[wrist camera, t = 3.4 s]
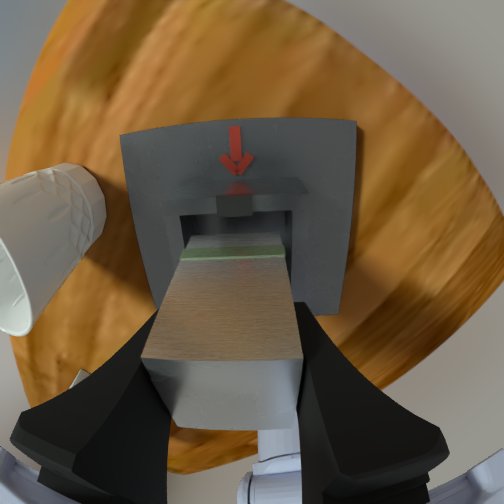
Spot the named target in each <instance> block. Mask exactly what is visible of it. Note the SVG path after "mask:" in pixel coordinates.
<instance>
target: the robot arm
mask: <svg viewBox="0 0 504 504" xmlns="http://www.w3.org/2000/svg"><path fill="white" fill-rule="evenodd" d="M293 303H294V308H295V314H296V319H297V325H298V330H299V336H300V342H301V347H302V353H303V365H302V372H301V379H300V386H299V392H298V399H297V405H296V411H295V417H294V422H293V428H290V429H273V430H258V463H253V472H248V473H246V474H245V476H244V477H243V478H242V480H241V481H240V483H239V487H238V494H237V504H504V449H500V450H498V451H497V452H496V453H494V454H492V455H491V456H489V457H488V458H486V459H485V460H483V461H481V462H480V463H478V464H477V465H475V466H474V467H472V468H471V469H469V470H468V471H467V472H466V473H464V474H462V475H460V476H458V477H456V478H455V479H453V480H451V481H449V482H447V483H444V484H443V485H440V486H438V487H436V488H434V489H432V490H429V491H428V489H427V486H426V483H428V482H429V480H430V478H429V475H428V472H429V471H430V470H432V469H433V468H435V467H436V466H438V465H439V464H440V463H442V462H443V461H444V460H445V459H446V458H447V457H448V455H449V453H450V452H449V450H448V446H447V444H446V440H445V438H444V436H443V434H442V432H441V430H440V428H439V427H437V426H436V425H434V424H431V423H430V422H428V421H426V420H424V419H422V418H420V417H418V416H416V415H414V414H413V413H411V412H410V411H408V410H407V409H405V408H404V407H402V406H401V405H399V404H398V403H396V402H395V401H394V400H392V399H391V398H390V397H388V396H387V395H386V394H384V393H383V392H382V391H381V390H379V389H378V388H377V387H376V386H374V385H373V384H372V383H371V382H370V381H369V380H368V379H367V378H365V377H364V376H363V375H362V374H361V373H360V372H359V371H358V370H357V369H356V368H355V367H354V366H353V365H352V364H351V363H350V362H349V361H348V359H347V358H346V357H345V356H344V355H343V354H342V353H341V351H340V350H339V349H338V348H337V347H336V345H335V344H334V343H333V342H332V340H331V339H330V338H329V337H328V335H327V334H326V333H325V331H324V330H323V329H322V327H321V326H320V324H319V323H318V321H317V320H316V318H315V317H314V315H313V314H312V312H311V311H310V309H309V307H308V306H307V304H306V303H305V302H293ZM159 309H160V308H159ZM159 309H158V310H157V311H156V312H155V313H154V314H153V315H152V316H151V317H150V318H149V319H148V321H147V322H146V323H145V324H144V325H143V326H142V327H141V328H140V329H139V330H138V331H137V332H136V333H135V334H134V335H133V337H132V338H131V339H130V340H129V341H128V342H127V343H126V344H125V345H124V346H123V347H121V348H120V349H119V350H118V351H117V352H116V353H115V354H114V355H113V356H112V357H111V358H110V359H109V360H108V361H107V362H105V363H104V364H103V365H102V366H101V367H99V368H98V369H97V370H96V371H94V372H93V373H92V374H90V375H89V376H88V377H86V378H85V379H83V380H82V381H80V382H79V383H78V384H76V385H75V386H73V387H72V388H70V389H69V390H67V391H65V392H63V393H62V394H60V395H58V396H56V397H54V398H53V399H51V400H49V401H47V402H45V403H43V404H40V405H38V406H36V407H33V408H31V409H28V410H26V411H23V412H21V415H20V417H19V419H18V421H17V423H16V426H15V428H14V430H13V433H12V434H11V437H10V441H11V443H12V444H13V445H14V446H15V447H16V448H18V449H19V450H20V451H21V452H23V453H24V454H26V455H27V456H28V457H30V458H31V459H32V460H34V461H35V462H37V463H38V464H39V465H41V466H42V467H41V470H40V472H38V471H36V470H34V469H33V468H31V467H29V466H28V465H26V464H24V463H23V462H21V461H19V460H18V459H16V458H15V457H14V456H13V455H12V454H10V453H9V452H8V451H6V450H5V449H4V448H2V447H1V446H0V504H167V456H168V443H169V433H170V424H171V418H172V416H171V414H170V413H169V411H168V409H167V407H166V406H165V404H164V402H163V400H162V399H161V397H160V395H159V393H158V391H157V389H156V387H155V386H154V384H153V382H152V380H151V378H150V376H149V374H148V372H147V370H146V368H145V366H144V364H143V362H142V360H141V355H142V352H143V349H144V347H145V344H146V342H147V339H148V336H149V334H150V331H151V329H152V326H153V324H154V321H155V319H156V316H157V314H158V311H159Z"/></svg>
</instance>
